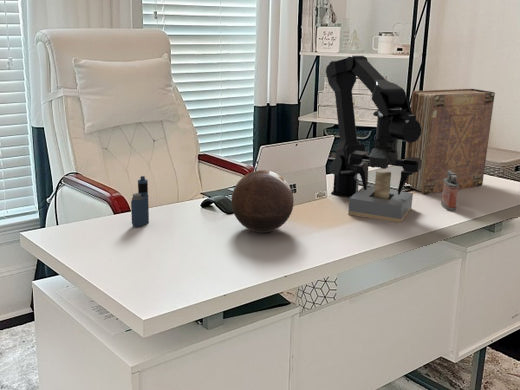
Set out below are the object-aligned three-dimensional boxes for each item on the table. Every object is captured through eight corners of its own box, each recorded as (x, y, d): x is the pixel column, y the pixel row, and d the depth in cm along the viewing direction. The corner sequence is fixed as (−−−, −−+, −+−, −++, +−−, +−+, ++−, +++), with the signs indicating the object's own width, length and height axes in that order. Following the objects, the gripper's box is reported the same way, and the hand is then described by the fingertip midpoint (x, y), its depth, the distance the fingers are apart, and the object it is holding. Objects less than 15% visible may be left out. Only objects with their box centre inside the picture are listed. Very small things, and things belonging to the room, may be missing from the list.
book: (422, 194, 186) (433, 94, 177) (402, 186, 193) (411, 91, 185) (482, 185, 197) (495, 91, 189) (461, 179, 205) (472, 88, 197)
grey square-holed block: (348, 214, 165) (349, 198, 164) (362, 201, 177) (363, 186, 176) (400, 222, 159) (401, 206, 158) (411, 208, 172) (412, 193, 170)
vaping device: (151, 222, 154) (150, 176, 151) (138, 228, 150) (137, 181, 146) (142, 220, 155) (141, 174, 152) (129, 226, 151) (128, 179, 147)
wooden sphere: (299, 239, 145) (302, 178, 141) (236, 242, 142) (237, 180, 138) (283, 219, 159) (286, 163, 155) (226, 221, 156) (227, 164, 152)
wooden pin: (371, 208, 167) (374, 173, 164) (375, 204, 171) (378, 169, 168) (386, 210, 165) (389, 175, 163) (389, 206, 169) (392, 171, 166)
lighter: (458, 211, 170) (462, 176, 167) (446, 211, 170) (450, 176, 167) (450, 202, 178) (454, 169, 175) (438, 202, 178) (442, 169, 175)
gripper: (343, 136, 159) (340, 194, 163) (416, 144, 152) (410, 204, 156) (356, 129, 169) (352, 184, 173) (425, 137, 161) (418, 194, 166)
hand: (382, 192), depth 167 cm, fingers open, 9 cm apart
